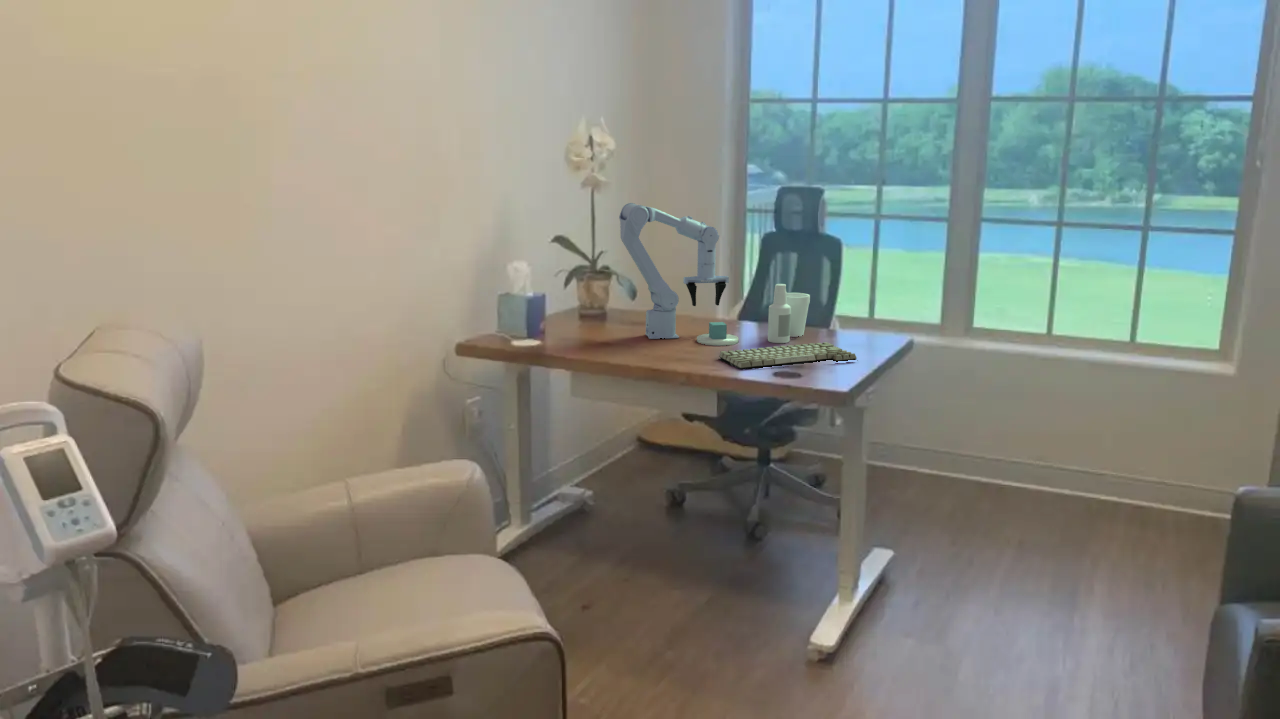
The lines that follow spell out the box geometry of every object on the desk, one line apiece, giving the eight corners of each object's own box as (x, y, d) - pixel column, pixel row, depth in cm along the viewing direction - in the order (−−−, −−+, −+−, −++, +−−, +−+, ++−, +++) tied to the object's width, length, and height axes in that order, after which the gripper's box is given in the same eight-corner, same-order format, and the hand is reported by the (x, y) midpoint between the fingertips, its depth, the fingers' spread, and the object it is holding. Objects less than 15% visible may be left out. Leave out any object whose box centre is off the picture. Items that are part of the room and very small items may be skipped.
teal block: (712, 339, 315) (712, 325, 314) (708, 336, 320) (709, 322, 319) (726, 338, 316) (726, 324, 315) (722, 336, 321) (723, 322, 320)
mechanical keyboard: (744, 375, 279) (744, 363, 278) (714, 360, 296) (714, 349, 295) (861, 364, 292) (862, 353, 291) (826, 351, 309) (826, 340, 309)
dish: (702, 346, 311) (702, 342, 311) (692, 337, 323) (692, 334, 323) (743, 344, 313) (743, 341, 313) (732, 336, 326) (732, 332, 325)
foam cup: (809, 337, 324) (811, 297, 321) (780, 337, 324) (782, 297, 321) (805, 331, 333) (807, 292, 330) (777, 331, 334) (779, 292, 331)
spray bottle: (788, 344, 315) (791, 286, 311) (766, 343, 316) (768, 285, 312) (790, 339, 321) (792, 283, 317) (768, 338, 323) (770, 282, 319)
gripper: (687, 265, 319) (686, 308, 322) (731, 264, 322) (730, 306, 325) (682, 262, 326) (681, 304, 329) (725, 261, 329) (724, 302, 332)
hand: (705, 305), depth 328 cm, fingers open, 7 cm apart
